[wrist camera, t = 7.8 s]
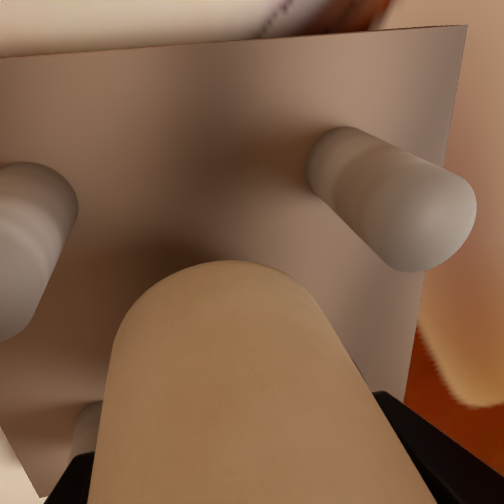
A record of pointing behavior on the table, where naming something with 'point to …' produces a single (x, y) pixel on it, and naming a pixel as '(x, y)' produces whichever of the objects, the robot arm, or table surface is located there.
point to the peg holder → (216, 200)
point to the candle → (241, 401)
